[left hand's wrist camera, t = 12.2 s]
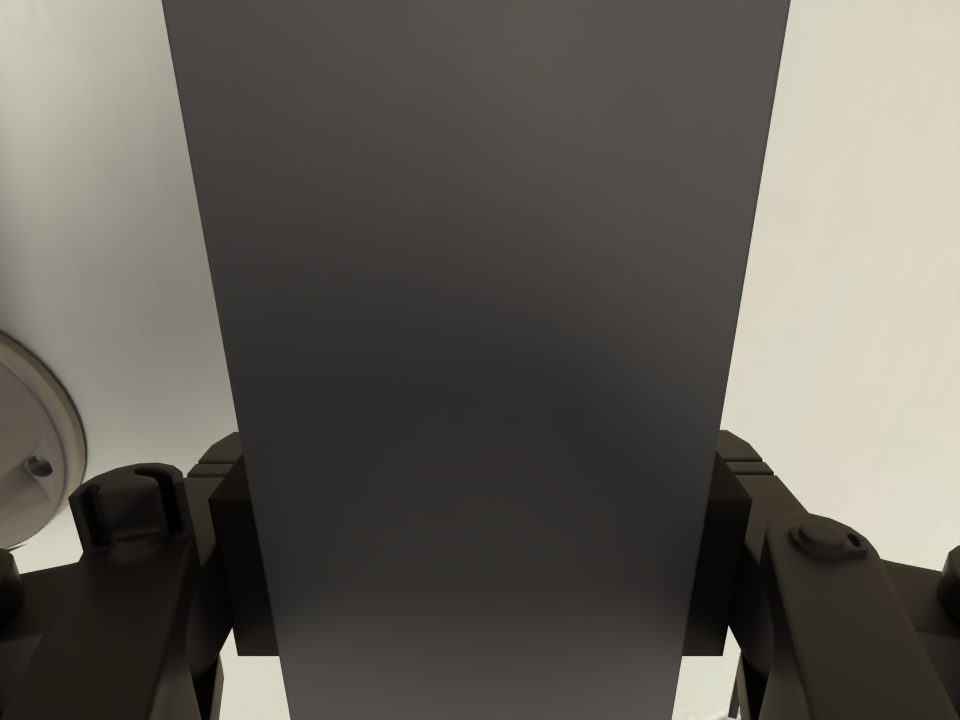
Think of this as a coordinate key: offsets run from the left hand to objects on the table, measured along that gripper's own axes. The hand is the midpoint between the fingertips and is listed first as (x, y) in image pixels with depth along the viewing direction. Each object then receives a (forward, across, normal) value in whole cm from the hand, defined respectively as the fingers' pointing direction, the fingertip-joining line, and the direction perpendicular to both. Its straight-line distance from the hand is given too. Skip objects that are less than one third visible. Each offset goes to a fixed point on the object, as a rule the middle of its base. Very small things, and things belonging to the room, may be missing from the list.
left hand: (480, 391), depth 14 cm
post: (+1, 0, -34) cm, 34 cm away
